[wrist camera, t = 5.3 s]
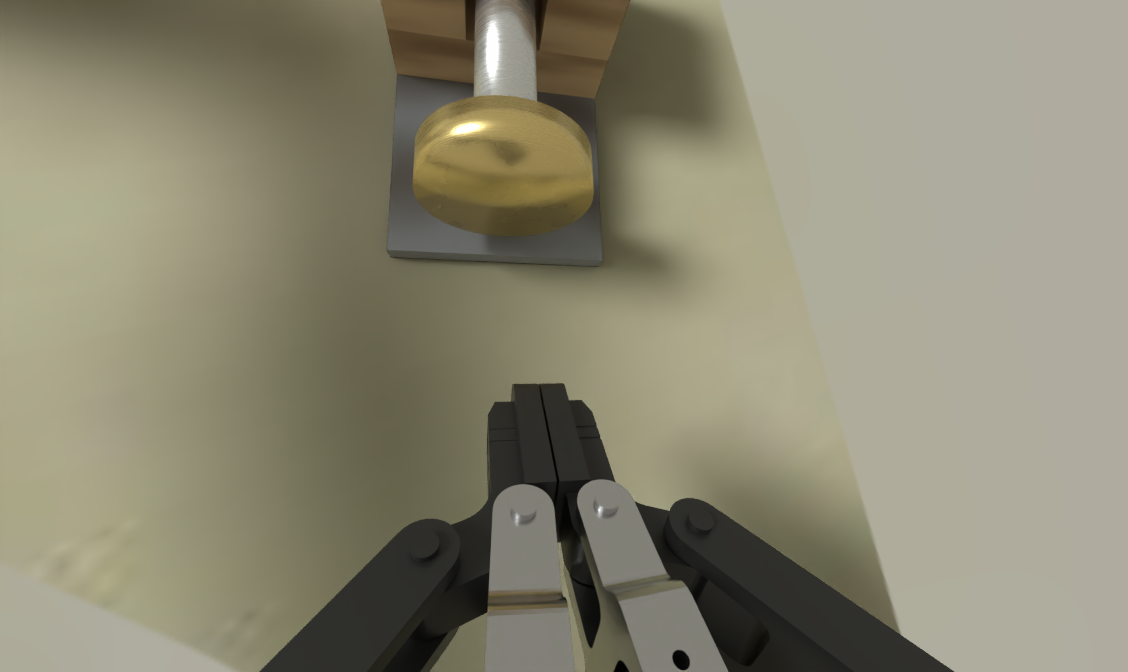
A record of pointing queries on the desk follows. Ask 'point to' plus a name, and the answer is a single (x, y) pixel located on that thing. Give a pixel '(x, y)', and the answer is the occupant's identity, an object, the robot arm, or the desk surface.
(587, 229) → the bearing block
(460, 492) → the desk surface
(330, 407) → the desk surface
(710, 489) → the desk surface
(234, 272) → the desk surface
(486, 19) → the shaft
